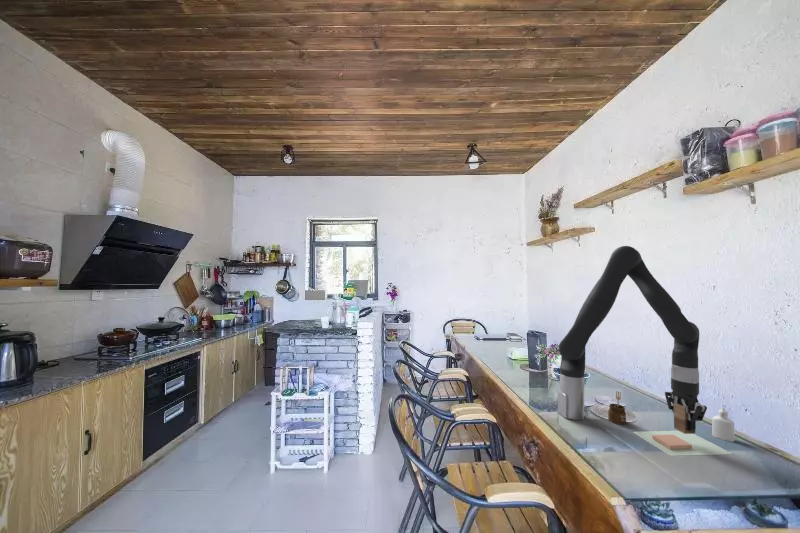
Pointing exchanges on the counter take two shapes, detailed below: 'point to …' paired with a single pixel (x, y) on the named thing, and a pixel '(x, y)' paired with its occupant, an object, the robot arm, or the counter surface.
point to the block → (681, 419)
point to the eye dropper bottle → (723, 426)
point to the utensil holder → (617, 412)
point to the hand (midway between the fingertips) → (684, 427)
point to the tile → (672, 442)
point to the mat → (698, 443)
